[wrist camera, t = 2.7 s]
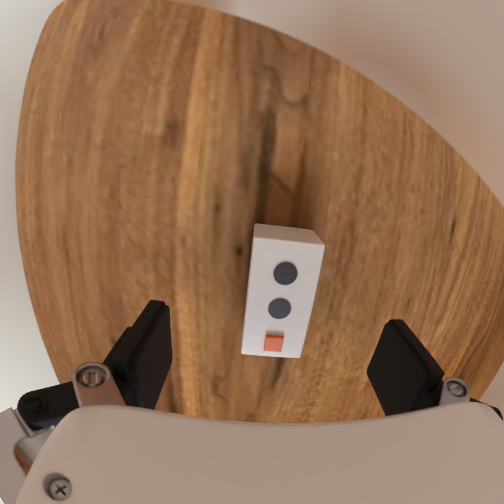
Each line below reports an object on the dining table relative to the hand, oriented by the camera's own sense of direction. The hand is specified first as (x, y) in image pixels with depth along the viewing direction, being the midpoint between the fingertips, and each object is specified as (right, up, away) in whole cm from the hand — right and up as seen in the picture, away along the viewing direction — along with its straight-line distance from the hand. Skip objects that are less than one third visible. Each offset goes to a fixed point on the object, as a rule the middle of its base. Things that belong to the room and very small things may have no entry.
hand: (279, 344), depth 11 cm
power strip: (0, +2, +6) cm, 7 cm away
